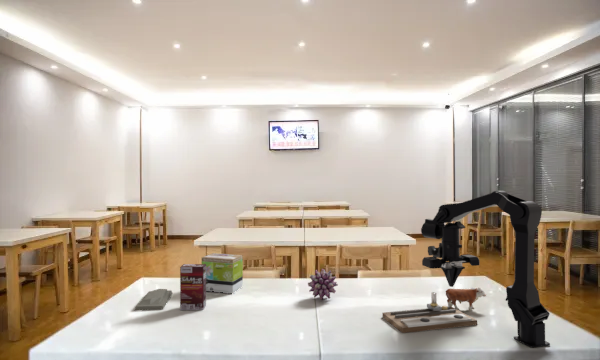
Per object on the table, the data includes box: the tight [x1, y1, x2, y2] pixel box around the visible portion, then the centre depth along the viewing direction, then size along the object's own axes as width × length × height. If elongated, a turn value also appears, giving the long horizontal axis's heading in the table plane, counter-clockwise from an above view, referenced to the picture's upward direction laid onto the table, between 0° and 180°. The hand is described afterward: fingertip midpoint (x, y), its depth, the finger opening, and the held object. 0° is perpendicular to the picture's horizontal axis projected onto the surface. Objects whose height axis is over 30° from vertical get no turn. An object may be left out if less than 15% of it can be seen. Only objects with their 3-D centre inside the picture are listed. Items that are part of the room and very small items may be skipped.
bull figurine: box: [445, 286, 487, 311], centre depth 137 cm, size 4×13×8 cm, turn 78°
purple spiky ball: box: [307, 268, 339, 300], centre depth 150 cm, size 12×12×12 cm
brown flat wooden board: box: [382, 305, 478, 334], centre depth 125 cm, size 14×26×3 cm, turn 103°
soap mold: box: [134, 288, 173, 311], centre depth 149 cm, size 10×20×4 cm, turn 8°
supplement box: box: [179, 263, 207, 311], centre depth 141 cm, size 9×5×16 cm, turn 91°
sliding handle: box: [426, 291, 442, 311], centre depth 129 cm, size 4×3×5 cm
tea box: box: [201, 252, 244, 294], centre depth 165 cm, size 15×10×15 cm
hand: (451, 286), depth 131 cm, fingers closed
